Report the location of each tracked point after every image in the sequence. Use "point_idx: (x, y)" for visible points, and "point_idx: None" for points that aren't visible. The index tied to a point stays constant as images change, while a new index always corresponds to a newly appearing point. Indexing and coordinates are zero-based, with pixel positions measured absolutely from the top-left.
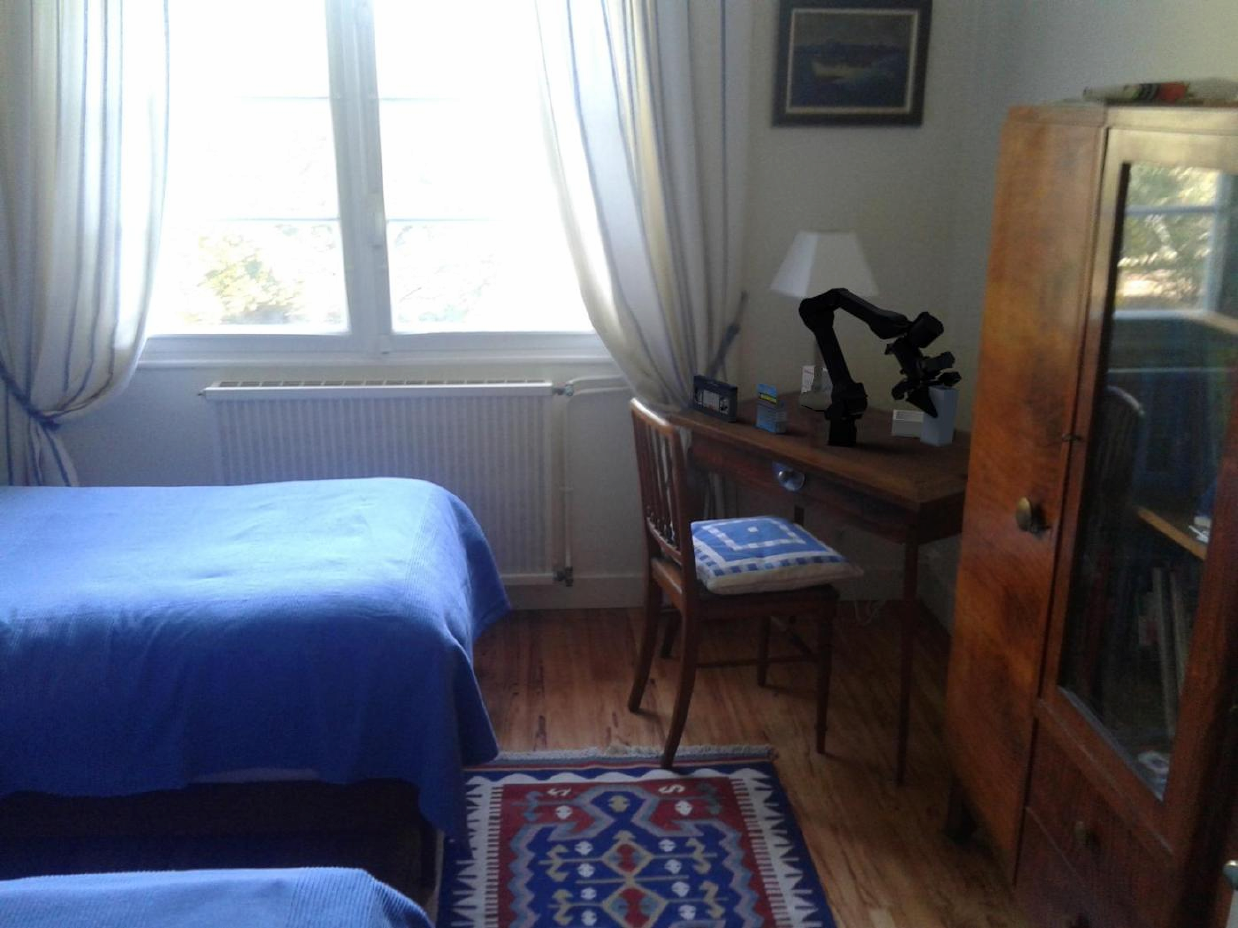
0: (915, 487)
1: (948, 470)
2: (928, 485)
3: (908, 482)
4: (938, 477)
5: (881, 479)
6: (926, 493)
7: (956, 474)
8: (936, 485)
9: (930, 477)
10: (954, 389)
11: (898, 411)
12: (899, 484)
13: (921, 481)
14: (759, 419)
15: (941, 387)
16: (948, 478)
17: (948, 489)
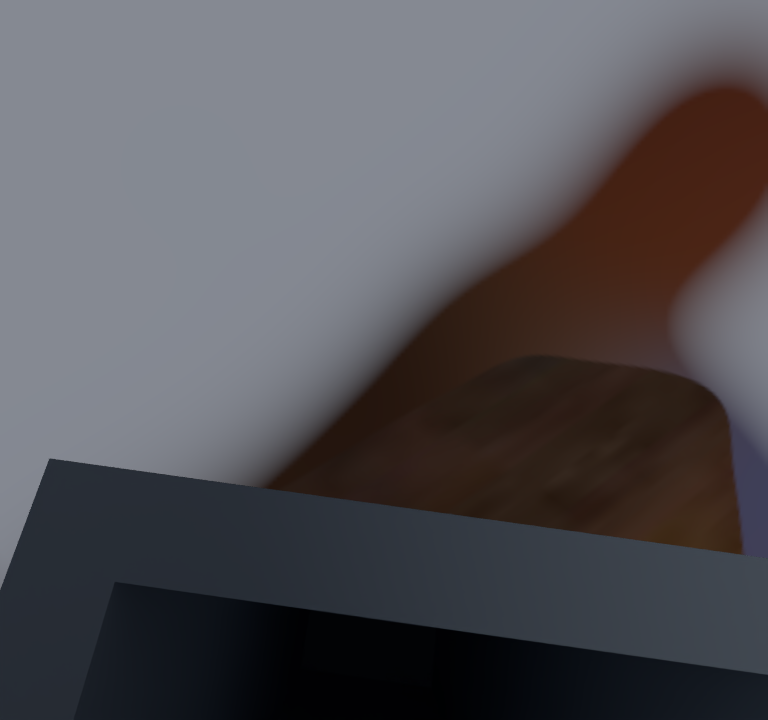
0: (655, 467)
1: None
2: (581, 447)
3: (626, 534)
4: (440, 489)
5: None
6: (675, 390)
7: (327, 461)
8: (550, 425)
9: (471, 514)
10: (214, 550)
11: None
12: (687, 543)
13: (560, 503)
14: None
15: None
16: (415, 450)
17: (552, 363)
